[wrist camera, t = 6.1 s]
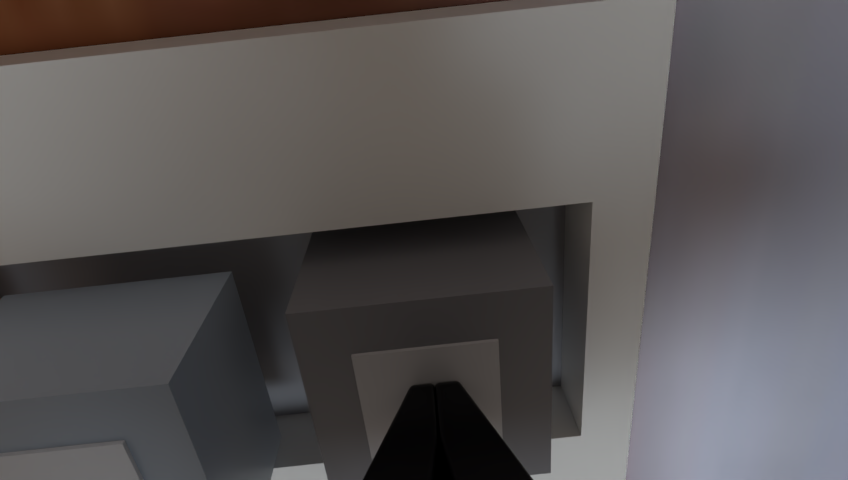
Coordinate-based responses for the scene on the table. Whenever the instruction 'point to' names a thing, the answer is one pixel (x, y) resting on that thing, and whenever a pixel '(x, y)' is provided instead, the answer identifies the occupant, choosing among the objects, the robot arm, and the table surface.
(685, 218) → the table surface
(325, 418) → the key charcoal
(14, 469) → the key slate
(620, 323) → the keypad
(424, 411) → the robot arm
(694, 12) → the table surface
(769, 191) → the table surface
